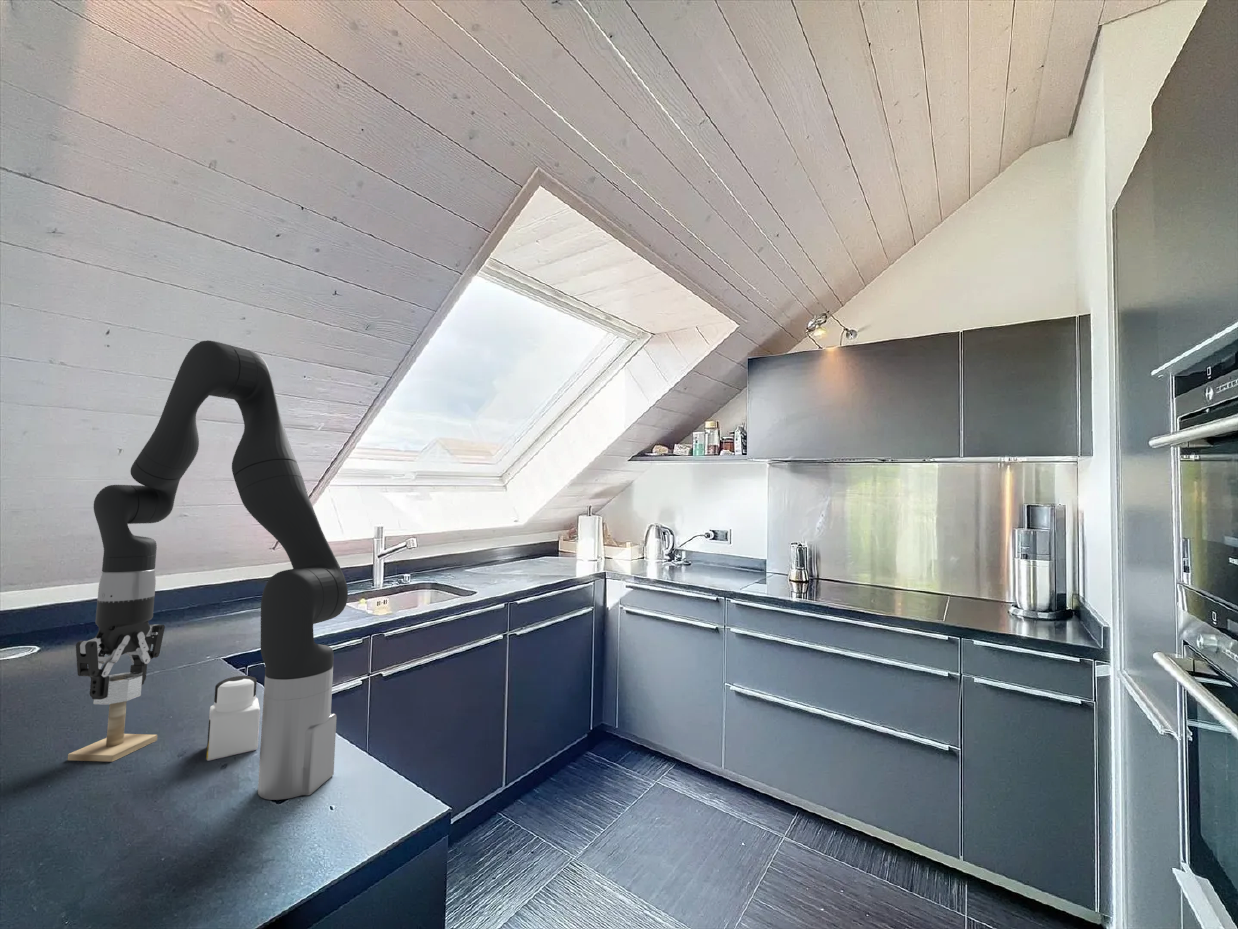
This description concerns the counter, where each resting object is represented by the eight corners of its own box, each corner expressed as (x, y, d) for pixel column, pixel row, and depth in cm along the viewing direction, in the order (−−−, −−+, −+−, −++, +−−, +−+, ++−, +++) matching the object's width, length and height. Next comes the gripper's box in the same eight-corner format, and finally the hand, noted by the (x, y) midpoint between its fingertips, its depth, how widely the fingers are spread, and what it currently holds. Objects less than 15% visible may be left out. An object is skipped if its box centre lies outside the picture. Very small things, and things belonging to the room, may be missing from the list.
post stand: (157, 740, 95) (162, 672, 96) (112, 761, 87) (118, 687, 88) (115, 739, 95) (121, 671, 96) (67, 760, 88) (74, 686, 89)
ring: (150, 692, 95) (151, 672, 95) (116, 705, 89) (118, 683, 89) (118, 691, 95) (120, 671, 95) (83, 704, 89) (85, 683, 89)
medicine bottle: (207, 746, 93) (211, 677, 94) (255, 736, 97) (259, 670, 98) (206, 762, 87) (211, 688, 88) (257, 750, 92) (261, 680, 93)
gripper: (105, 603, 86) (96, 708, 85) (182, 589, 100) (175, 679, 99) (62, 602, 86) (52, 707, 85) (145, 589, 101) (138, 678, 99)
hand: (118, 691), depth 92 cm, fingers closed on ring, 6 cm apart
